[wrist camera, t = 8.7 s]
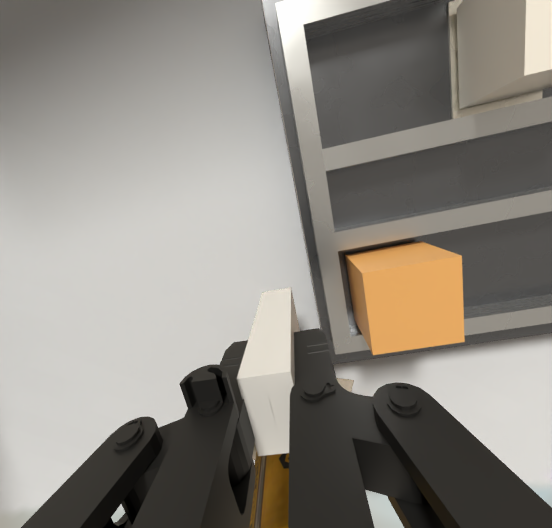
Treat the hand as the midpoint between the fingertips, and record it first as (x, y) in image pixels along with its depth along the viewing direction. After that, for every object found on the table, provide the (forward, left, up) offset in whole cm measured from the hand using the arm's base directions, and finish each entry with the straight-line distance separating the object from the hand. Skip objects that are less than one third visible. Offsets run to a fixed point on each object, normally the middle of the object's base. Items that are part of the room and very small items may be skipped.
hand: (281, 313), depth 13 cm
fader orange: (+6, 0, -2) cm, 6 cm away
